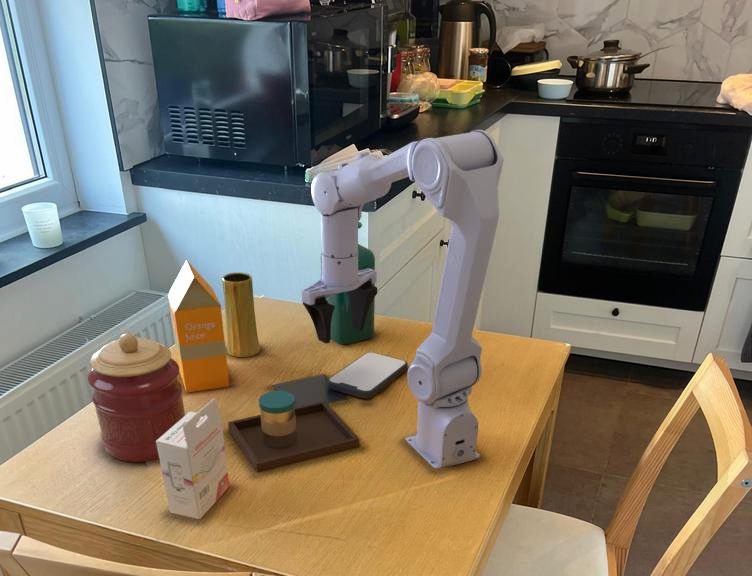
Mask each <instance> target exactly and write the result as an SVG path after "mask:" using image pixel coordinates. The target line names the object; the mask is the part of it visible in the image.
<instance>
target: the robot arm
mask: <svg viewBox="0 0 752 576" xmlns="http://www.w3.org/2000/svg"><path fill="white" fill-rule="evenodd" d="M355 159H356V160H354V161H352V162H350V163H348V162H343V163H340V164H338V165H337V168H338V169H336V170H333V171H329V172H325V171H320V172H318V173H317V175H315V176H314V177H313V179H312V182H311V189H310V190H311V198H312V202H313V204H314V207H315V208H316V210H317V211H318V212H319V215H320V216H319V218H320V249H321V253H322V275H321V274H320V275H319V280H317V281H316V282H315V283H312V284H311V285H310V286H308V287H306V288H303V289H301V302H302V305H303V306H304V308H305V310H306V311H307V313H308V315H309V317H310V319H311V321H312V323H313V326H314V328H315V332H316V337H317V339H318V341H320V342H322V343H324V344H329V343H330V342H331V320H332V315H333V311H334V308H335V306H334V305H331V304H329V303H328V301H326V298H327V297H330V296H333V295H336V294H339V293H341V292H348V296H349V301H350V308H351V323H352V327H354V328H356V329H359V330H363V328H364V324H365V320H366V317H367V313H368V310H369V308H370V305H371V303H372V301H373V299H374V298H375V297H376V296H377V295H378V287H377V286H376V285H375V286H373V285H371V284H373V283H375V284H376V283H377V279H378V278H377V276H378V274H377V273H378V272H377V270H376V269H375V270H372V269H369V268H368V269H364V270H359V271H358V244H359V229H358V221H359V222H360V220H361V218H362V210H363V207H364V205H365V204H367V203H370V202H372V201H375V200H378V199H380V198H382V197H385V196H386V195H387V194H388V193H389V191H390V190H391V187H392V183H394V182H397V181H400V180H403V179H406V178H409V180H410V181H411V182H415V183H416V185H417V186H418V188H419V190H420V191H421V192H422V193H423V194H424V197H426V198H427V199H428V201H429V202H430V203H431V204H432V206H433V207H434V208H435V210H436V211H437V212H438V213H439V215H440V216H441V217H443V218H445V219H448V221H449V222H450V224H451V229H450V234H449V239H448V245H447V249H446V255H445V260H444V266H443V270H442V275H441V281H440V282H441V283H440V287H439V292H438V298H437V303H436V307H435V313H434V318H433V324H432V329H431V333H430V334H429V336H428V337H426V338H425V340H424V341H423V342H422V343H420V345H419V347H418V348H417V349H416V352H415V356H414V359H413V361H412V362H411V363H410V365H408V368H407V375H406V377H407V384H408V388H409V391H410V392H411V394H412V395H413V396H414V398H415V399H416V400H417V419H416V434H415V435H410V436H407V437H405V438H404V439H405V441H406V442H407V443H408V444H409V445H410V446H411V447H412V448H413V449H414V450H415V451H416V452H417V453H418V454H419V455H420V456H421V458H423V459H424V460H425V461H426V463H428V464H429V465H430V466H431V467H432V468H433V469H435V470H436V469H441V468H444V467H448V466H450V467H453V466H456V465H461V464H464V463H468V462H470V461H471V462H472V461H474V460H478V459H480V458H481V454H480V453H479V452H478V451H477V443H478V432H479V421H478V418H477V417H476V415H475V414H474V413H473V411H472V410H471V408H470V405H469V395H471V394H472V388H473V386H475V385H477V384H478V383H479V381H480V380H481V377H482V363H481V354H482V350H483V347H482V346H481V344H480V343H479V342H478V341H477V340H476V339H475V338H474V337H473V332H474V327H475V324H476V319H477V315H478V310H479V305H480V302H481V297H482V292H483V289H484V284H485V280H486V275H487V271H488V267H489V262H490V258H491V255H492V254H491V253H492V249H493V244H494V241H495V236H496V232H497V228H498V224H499V218H500V217H499V216H500V208H499V191H498V189H499V184H500V180H501V179H500V178H501V174H502V169H503V166H504V165H503V164H504V161H505V160H504V157H503V155H502V153H501V151H500V149H499V147H498V145H497V142H496V140H495V139H494V137H493V136H492V135H491V134H490V133H489V132H487V131H486V130H484V129H475V130H471V131H470V132H465V133H459V134H453V135H452V134H451V135H445V136H440V137H427V138H423V139H422V140H417V141H416V140H415V141H411V142H410V143H408V144H406V145H405V146H403V147H400V148H399V149H397V150H395V151H393V152H391V153H389V154H388V155H386V156H384V157H382V156H380V155H378V154H375V153H372V154H371V153H370V151H365V152H360V153H358V154H356V155H355ZM375 299H376V298H375Z"/></svg>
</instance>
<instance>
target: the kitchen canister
mask: <svg viewBox="0 0 752 576" xmlns="http://www.w3.org/2000/svg"><path fill="white" fill-rule="evenodd" d="M89 362H90V363H89V365H90V367H91V369H90V370H89V372H88V374H87V382H88V384H89V386H90V387H92V389H93V393H92V397H91V398H92V399H91V400H92V404H93V405H94V408H95V411H96V416H97V421H98V426H99V430H100V431H99V432H100V433H99V434H100V438H101V443H102V445H103V446H104V449H105V451H106V453H107V454H109V455H110V456H111V457H113V458H115V459H117V460H120V461H124V462H131V463H132V462H133V463H143V462H145V463H146V462H147V461H152V460H157V459H159V454H158V449H157V444H156V440H158V439H159V438H160V437H161V436H162V435H163V434H165V433H166V432H167V431H168V430H169V429H170V428H172V427H173V426H174V425H175V424H176V423H177V422H178V421H180V420H181V419H182V418H183V417H184V416H185V415H186V411H185V406H184V400H183V398H184V397H183V386H182V384H181V382H180V381H179V380H178V376H179V375H180V371H179V365H178V361H176V360H175V359H174V358H172V352H171V350H170V348H168V347H167V346H166V345H164V344H162V343H160V342H157V341H155V340H153V339H151V338H150V339H149V338H145V337H137V336H135V335H133V334H132V333H124V334H122V335H121V336H120V337H119V339H117V340H113V341H111V342H109V343H107V344H105V345H104V346H102V347H101V349H99V350H98V351H97V352H94V354H93V355H92V357H90V361H89Z"/></svg>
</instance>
